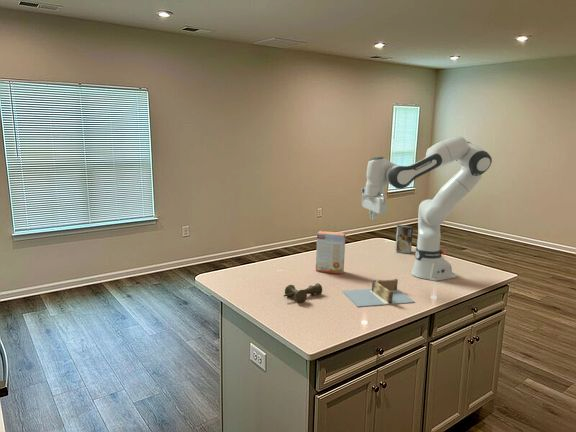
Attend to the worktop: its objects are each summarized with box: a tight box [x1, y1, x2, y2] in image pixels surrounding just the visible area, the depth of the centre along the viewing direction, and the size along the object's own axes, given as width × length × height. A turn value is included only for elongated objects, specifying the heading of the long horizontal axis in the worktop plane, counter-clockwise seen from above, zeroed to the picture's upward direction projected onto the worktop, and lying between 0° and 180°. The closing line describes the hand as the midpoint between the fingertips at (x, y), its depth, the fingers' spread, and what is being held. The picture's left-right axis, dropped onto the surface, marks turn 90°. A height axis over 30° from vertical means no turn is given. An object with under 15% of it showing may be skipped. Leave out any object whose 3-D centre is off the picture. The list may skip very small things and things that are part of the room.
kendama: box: [283, 282, 323, 304], centre depth 193 cm, size 6×10×20 cm
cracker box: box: [315, 230, 346, 275], centre depth 228 cm, size 14×6×21 cm, turn 71°
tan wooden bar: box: [371, 279, 393, 303], centre depth 195 cm, size 16×2×5 cm, turn 19°
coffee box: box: [394, 224, 414, 254], centre depth 269 cm, size 9×6×16 cm
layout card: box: [341, 278, 416, 308], centre depth 196 cm, size 27×18×6 cm, turn 104°
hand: (372, 220), depth 210 cm, fingers closed
